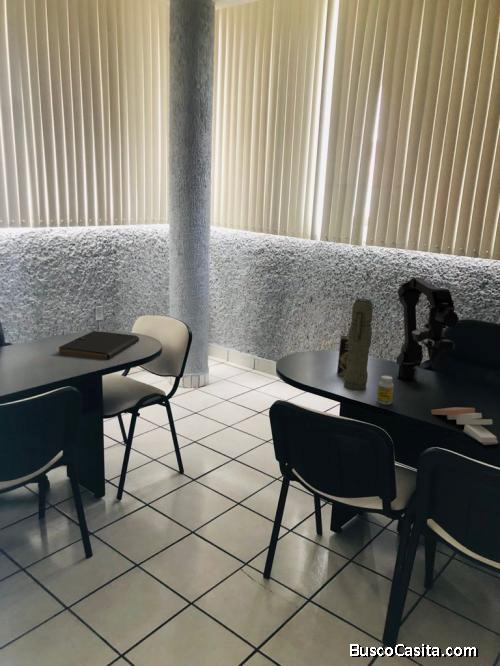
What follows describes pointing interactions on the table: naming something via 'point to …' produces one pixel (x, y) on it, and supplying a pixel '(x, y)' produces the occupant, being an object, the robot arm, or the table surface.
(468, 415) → the domino
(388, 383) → the supplement bottle
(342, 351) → the coffee box
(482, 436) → the domino
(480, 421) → the domino
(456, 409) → the domino
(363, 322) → the thermos
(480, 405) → the table surface
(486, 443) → the domino
